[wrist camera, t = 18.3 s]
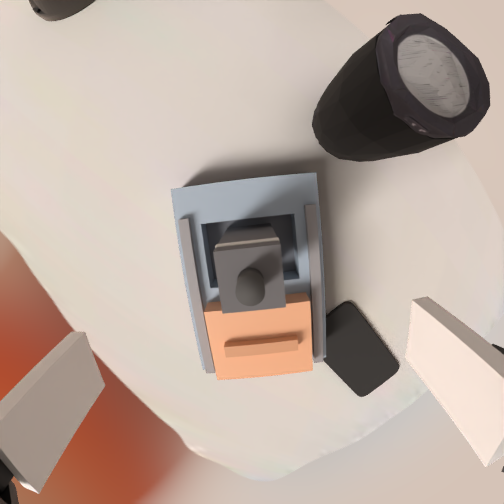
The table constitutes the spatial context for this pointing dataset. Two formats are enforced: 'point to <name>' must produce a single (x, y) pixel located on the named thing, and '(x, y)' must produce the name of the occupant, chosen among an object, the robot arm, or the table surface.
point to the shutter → (261, 339)
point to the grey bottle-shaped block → (249, 269)
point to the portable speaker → (402, 93)
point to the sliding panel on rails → (251, 213)
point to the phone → (356, 351)
